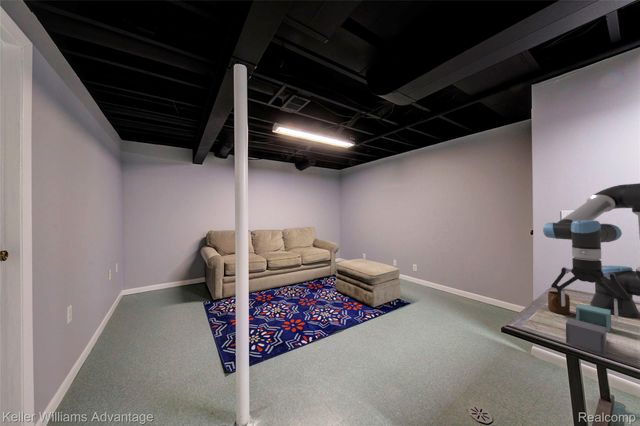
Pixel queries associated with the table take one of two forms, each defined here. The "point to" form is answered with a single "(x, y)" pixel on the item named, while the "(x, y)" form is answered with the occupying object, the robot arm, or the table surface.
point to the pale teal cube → (594, 315)
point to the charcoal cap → (586, 335)
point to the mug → (558, 303)
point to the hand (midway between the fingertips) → (588, 311)
